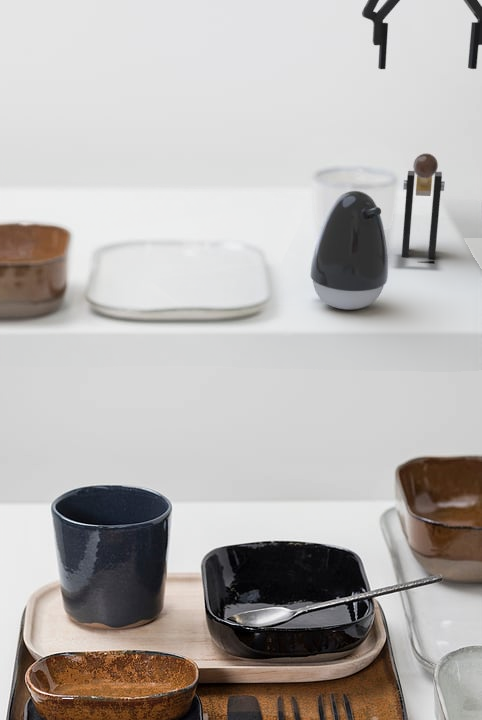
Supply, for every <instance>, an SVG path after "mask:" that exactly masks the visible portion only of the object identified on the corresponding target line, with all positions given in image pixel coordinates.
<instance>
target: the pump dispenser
mask: <svg viewBox="0 0 482 720" xmlns="http://www.w3.org/2000/svg"><path fill="white" fill-rule="evenodd" d="M381 214H382V208H380V207H379V206H377V204H376V202H375V201H374V199H373V197H371V196H370V195H369V194H367V193H366V192H363V191H360V190H350V191H347V192H345V193H343V194H341V195H340V196H339V197H337V199H336V200H335V202H334V203H333V205H332V206H331V207H330V209H329V211H328V213H327V215H326V217H325V218H324V219H325V220H324V222H323V223H322V226H321V229H320V231H319V234H318V237H317V239H316V240H317V241H316V244H315V247H314V251H313V255H312V260H311V265H310V278H311V280H312V284H313V288H314V291H315V293H316V295H317V296H318V298H319V299H320V300H321V301H322V302H323V303H325V304H327V305H328V306H330V307H333V308H336V309H340V310H349V311H350V310H359V309H362V308H366V307H368V306H369V305H371V304H373V303H374V302H375V301H376V300H377V299H378V298H379V297H380V295H381V293H382V291H383V290H384V286H385V285H386V284H387V282H388V278H389V257H388V248H387V247H388V245H387V239H386V234H385V229H384V224H383V220H382V216H381Z"/></svg>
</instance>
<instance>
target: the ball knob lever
mask: <svg viewBox="0 0 482 720" xmlns="http://www.w3.org/2000/svg"><path fill="white" fill-rule="evenodd" d="M412 165H413V166H412V169H413V171H414V172H415V176H416V183H415V185H416V186H415V196H416V197H418V196H420V197H431V195H432V182H433V176H435V173H436V172H438V167H439V162H438V160H437V158H436V156H434V155H432V154H431V153H421V154H419V155H418V156H417V157H416V158H415V159H414V160H413V164H412Z"/></svg>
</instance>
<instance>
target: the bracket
mask: <svg viewBox="0 0 482 720" xmlns="http://www.w3.org/2000/svg"><path fill="white" fill-rule="evenodd" d="M415 176H416V173H415V172H414V170H408V171H407V178H406V179H404V180H403V188H402V189H403V190H405V191H406V192H405V204H404V218H403V219H404V220H403V233H402V245H401V246H402V247H401V258H406V259H408V258H409V253H410V243H411V242H410V241H411V229H412V215H413V214H412V213H413V202H414V187H415ZM442 179H443V172H442V171H436V173H435V174H434V179H433V192H432V205H431V217H430V230H429V239H428V254H427V260H424V261H422V260H421V261H418V263H420V264H433V265H435V264H436V263H435V262H436V261H435V260H436V249H437V241H438V240H437V239H438V227H439V214H440V205H441V203H440V202H441V192H444V191H445V183H446V181H444V180H442Z"/></svg>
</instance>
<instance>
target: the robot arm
mask: <svg viewBox="0 0 482 720" xmlns="http://www.w3.org/2000/svg"><path fill="white" fill-rule="evenodd" d="M379 1H380V0H367V1H366V3H365V6H364V7H363V9H362V11H361V16H362V17H363V18H365V19H367V20H370V21H371V22H372V24H373V26H372V28H373V29H372V44H373V46H379V51H378V69H379V70H386V65H387V48H388V32H389V31H388V29H389V23H388V22H384V20H385V19H386V17H387V16H388V15H389V14H390V13H391V12H392V10H393V9H394V8H395V7H396V6H397V5H398V4H399V3H400V1H401V0H386V1H385V2H384V4H383V5H382V6H381V7H380V8H379V9H378V11H377V12H376V11H375V9H376V7H377V6H378V3H379ZM463 2H464V3H465V4H466V6H467V7H468V9H469V10H470V12H471V13H472V14H473V16H474V17H475V19H476V20H477V21H476V22H475V21H474V22H473V21H472V22H471V27H470V37H469V39H470V40H469V51H468V61H467V69H470V70H476V69H478V68H477V66H478V55H479V46H482V5H481V3H480V1H478V0H463Z"/></svg>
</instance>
